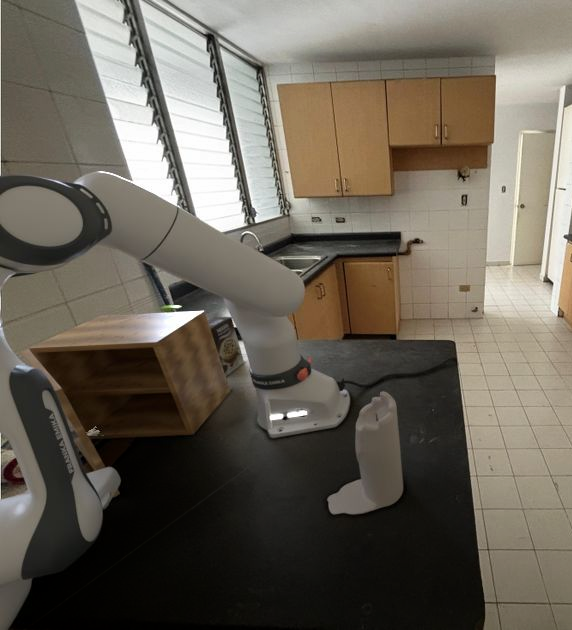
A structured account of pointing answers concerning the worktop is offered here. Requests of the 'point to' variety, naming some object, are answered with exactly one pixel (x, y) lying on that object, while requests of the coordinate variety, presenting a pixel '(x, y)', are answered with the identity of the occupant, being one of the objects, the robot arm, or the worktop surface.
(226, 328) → the coffee box
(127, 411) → the cupboard
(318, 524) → the worktop surface
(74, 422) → the cupboard door
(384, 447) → the white l-shaped piece
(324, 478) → the worktop surface
